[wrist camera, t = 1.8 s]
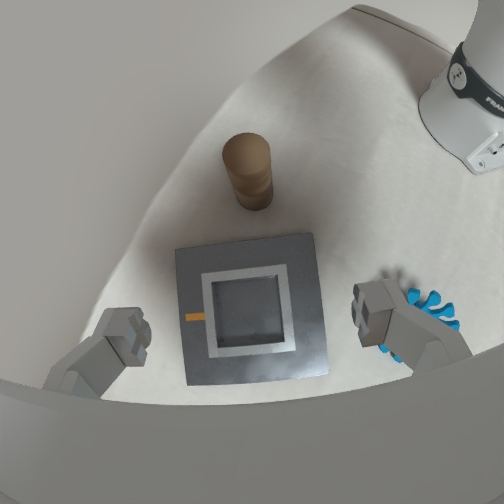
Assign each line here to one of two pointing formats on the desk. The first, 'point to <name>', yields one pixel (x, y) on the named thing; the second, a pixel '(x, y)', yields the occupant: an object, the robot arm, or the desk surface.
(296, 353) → the square frame on plate
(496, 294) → the desk surface
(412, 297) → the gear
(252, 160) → the pin
